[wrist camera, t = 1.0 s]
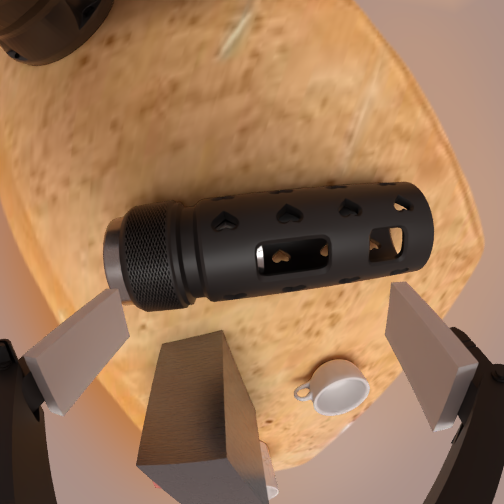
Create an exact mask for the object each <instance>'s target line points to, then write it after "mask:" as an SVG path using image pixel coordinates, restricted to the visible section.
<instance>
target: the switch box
mask: <svg viewBox="0 0 504 504" xmlns="http://www.w3.org/2000/svg"><path fill="white" fill-rule="evenodd" d="M136 466H137V467H138V468H139V469H140V470H141V471H143V473H145V474H146V475H147V476H148V477H149V478H150V479H152V481H154V482H155V483H156V484H157V485H158V486H160V487H161V488H162V489H163V490H164V491H166V492H167V493H168V494H169V495H170V496H172V497H173V498H174V499H176V500H177V501H178V502H179V503H181V504H269V500H268V494H267V487H266V481H265V474H264V468H263V461H262V454H261V447H260V441H259V434H258V427H257V420H256V412H255V409H254V406H253V404H252V402H251V399H250V397H249V395H248V392H247V390H246V387H245V385H244V383H243V380H242V378H241V375H240V373H239V371H238V368H237V366H236V363H235V361H234V358H233V356H232V353H231V351H230V348H229V346H228V343H227V341H226V338H225V336H224V333H223V331H222V330H221V331H217V332H213V333H209V334H205V335H200V336H196V337H192V338H188V339H183V340H179V341H174V342H170V343H165V344H162V346H161V350H160V354H159V358H158V362H157V367H156V371H155V375H154V379H153V384H152V388H151V393H150V397H149V402H148V406H147V411H146V416H145V421H144V426H143V431H142V436H141V441H140V447H139V452H138V457H137V463H136Z"/></svg>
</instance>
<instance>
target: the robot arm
mask: <svg viewBox="0 0 504 504" xmlns="http://www.w3.org/2000/svg"><path fill="white" fill-rule="evenodd" d="M113 2H114V0H0V46H1V47H2V48H3V49H4V51H5V52H6V53H7V54H8V55H9V56H10V57H11V58H13V59H14V60H16V61H18V62H21V63H25V64H28V65H34V66H38V65H45V64H49V63H52V62H55V61H57V60H59V59H61V58H63V57H65V56H67V55H68V54H70V53H71V52H73V51H74V50H76V49H77V48H78V47H79V46H81V45H82V44H83V43H84V42H85V41H86V40H87V39H88V38H89V37H90V36H91V35H92V34H93V33H94V32H95V31H96V30H97V29H98V27H99V26H100V25H101V23H102V22H103V21H104V19H105V18H106V16H107V14H108V12H109V11H110V9H111V7H112V4H113ZM385 336H386V338H387V340H388V341H389V343H390V345H391V347H392V349H393V351H394V353H395V355H396V357H397V359H398V361H399V362H400V364H401V366H402V368H403V370H404V372H405V374H406V376H407V378H408V380H409V382H410V384H411V386H412V388H413V390H414V392H415V395H416V397H417V399H418V401H419V403H420V405H421V407H422V409H423V412H424V414H425V416H426V418H427V420H428V422H429V425H430V427H431V429H432V431H433V432H436V431H439V430H443V429H447V428H450V427H452V425H453V423H454V421H455V419H456V417H457V415H458V416H459V418H460V419H461V422H462V423H461V425H460V427H459V429H458V431H457V433H456V435H455V437H454V439H453V440H452V442H451V443H452V446H451V449H450V451H449V453H448V456H447V458H446V460H445V462H444V464H443V467H442V469H441V471H440V473H439V475H438V477H437V479H436V481H435V483H434V484H433V486H432V488H431V490H430V492H429V494H428V495H427V497H426V499H425V501H424V503H423V504H492V502H493V499H494V496H495V493H496V490H497V487H498V484H499V481H500V478H501V474H502V470H503V466H504V365H502V364H492V363H491V362H490V361H489V360H488V358H487V357H486V356H485V355H484V354H483V353H482V352H481V350H480V349H479V348H478V347H476V345H475V344H474V342H473V341H471V339H470V338H469V337H468V336H467V335H466V334H465V333H464V332H463V331H461V330H459V329H457V328H455V327H451V328H449V327H448V326H447V325H446V324H445V323H444V322H443V320H442V319H441V318H440V317H439V316H438V315H437V314H436V313H435V312H434V311H433V310H432V308H431V307H430V306H429V305H428V304H427V303H426V302H425V301H424V300H423V299H422V298H421V297H420V296H419V295H418V294H417V292H416V291H415V290H414V289H413V288H412V287H411V286H410V285H409V284H408V283H407V282H393V283H391V290H390V299H389V308H388V316H387V324H386V331H385ZM129 337H130V335H129V332H128V328H127V324H126V320H125V316H124V312H123V307H122V303H121V299H120V294H119V290H118V289H105V290H104V291H103V292H101V293H100V294H99V295H98V296H96V297H95V298H94V299H92V300H91V301H90V302H88V303H87V304H86V305H84V306H83V307H82V308H81V309H79V310H78V311H77V312H75V313H74V314H73V315H72V316H70V317H69V318H68V319H67V320H65V321H64V322H63V323H62V324H60V325H59V326H58V327H57V328H55V329H54V330H53V331H52V332H50V333H49V334H48V335H47V336H45V337H44V338H43V339H42V340H41V341H39V342H38V343H37V344H36V345H35V346H33V347H32V348H31V349H30V350H29V351H27V352H26V353H25V354H24V355H23V356H22V357H21V358H20V359H19V360H18V358H17V356H16V353H15V351H14V349H13V346H12V344H11V341H9V340H8V339H0V504H57V501H56V497H55V492H54V487H53V482H52V477H51V471H50V465H49V458H48V450H47V442H46V432H45V421H44V411H43V409H42V407H41V404H42V403H43V402H44V401H45V402H46V404H47V406H48V408H49V410H50V411H51V412H53V413H55V414H58V415H61V416H65V414H66V413H67V412H68V411H69V409H70V408H71V407H72V406H73V404H74V403H75V402H76V401H77V399H78V398H79V397H80V396H81V394H82V393H83V392H84V390H85V389H86V388H87V387H88V386H89V385H90V383H91V382H92V381H93V380H94V378H95V377H96V376H97V375H98V374H99V372H100V371H101V370H102V369H103V368H104V366H105V365H106V364H107V363H108V362H109V360H110V359H111V358H112V357H113V356H114V354H115V353H116V352H117V351H118V350H119V348H120V347H121V346H122V345H123V344H124V343H125V341H126V340H127V339H128V338H129Z"/></svg>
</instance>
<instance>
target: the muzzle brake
mask: <svg viewBox="0 0 504 504" xmlns="http://www.w3.org/2000/svg"><path fill="white" fill-rule="evenodd" d="M395 203H397V204H399V205H401V206H403V207H405V208H406V209H407V210H406V209H402V210H401V211H398V210H396V209H395V208H394V204H395ZM396 227H398V228H401V229H402V247H401V251H400V252H399V253H398V254H397V252H396V250H395V247H394V245H393V241H392V238H391V233H390V228H396ZM370 240H371V241H372V242H373V243H375V244H376V245H377V246H378V249H376V248H373V249H372V250H370ZM433 241H434V225H433V218H432V213H431V210H430V207H429V204H428V202H427V200H426V198H425V196H424V195H423V193H422V192H421V191H420V190H419V189H418V188H417V187H416V186H415V185H413V184H411V183H409V182H391V183H370V184H353V185H338V186H324V187H312V188H300V189H289V190H280V191H268V192H259V193H250V194H241V195H233V196H225V197H216V198H209V199H202V200H200V201H199V202H198V203H197V204H196V205H195V206H193V207H184V206H183V204H182V203H180V202H178V203H176V202H175V201H165V202H159V203H152V204H146V205H140V206H135V207H133V208H131V209H130V210H129V211H128V212H127V213H126V214H125V216H124V217H119V218H115V219H113V220H112V221H111V222H110V223H109V225H108V227H107V229H106V232H105V236H104V243H103V260H104V269H105V274H106V278H107V282H108V285H109V288H110V289H118V290H119V294H120V299H121V303H122V304H123V305H136V306H137V307H138V308H140V309H142V310H144V311H147V312H152V311H163V310H173V309H183V308H187V307H188V306H189V305H192V304H194V302H195V300H196V298H201V297H207V298H208V299H209V300H210V301H213V302H217V301H225V300H233V299H242V298H249V297H257V296H265V295H272V294H279V293H286V292H293V291H300V290H307V289H314V288H320V287H326V286H333V285H339V284H345V283H351V282H357V281H363V280H369V279H375V278H380V277H386V276H391V275H397V274H402V273H407V272H413V271H418V270H420V269H421V268H423V266H424V265H425V264H426V263H427V261H428V259H429V257H430V254H431V251H432V247H433ZM325 245H327V246H328V256H322V255H321V254H320V251H321V250H322V249H323V248H324V246H325ZM278 251H280V252H282V253H283V254H285V255H287V256H288V257H289V261H282V260H281V261H280V262H278V263H275V262H273V260H272V258H273V257H274V256H275V255H276V254H277V253H278Z"/></svg>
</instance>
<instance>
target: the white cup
mask: <svg viewBox="0 0 504 504" xmlns="http://www.w3.org/2000/svg"><path fill="white" fill-rule="evenodd" d="M260 447H261V454H262V461H263V468H264V474H265V481H266V487H267V494H268V500H269V499H271V498H273V497H275V496H276V495H277V494H278V493H279V490H278V486H277V482H276V478H275V473H274V469H273V465H272V462H271V458H270V456H269V451H268V447H267V445H266V444H265V443H263V442H261V441H260Z"/></svg>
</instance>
